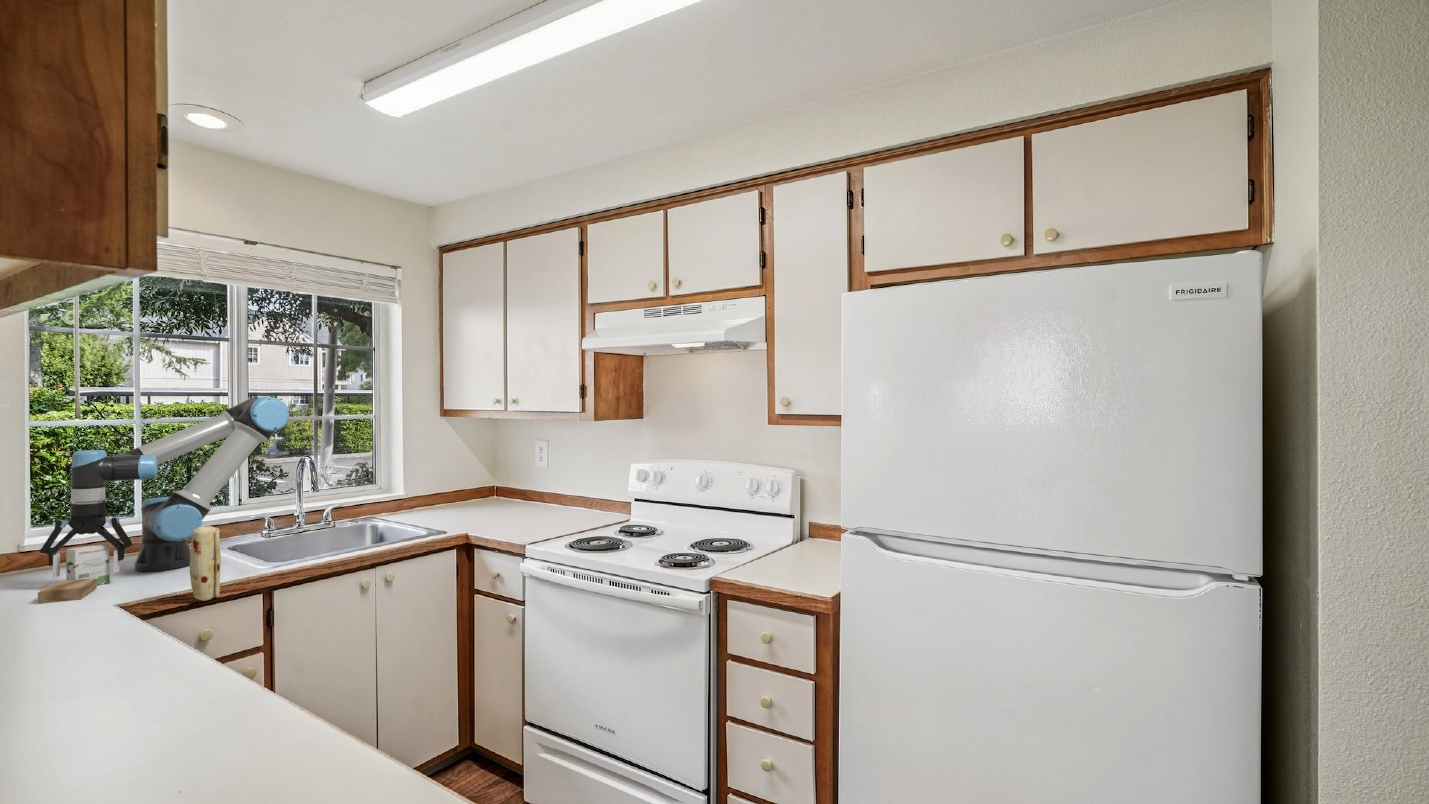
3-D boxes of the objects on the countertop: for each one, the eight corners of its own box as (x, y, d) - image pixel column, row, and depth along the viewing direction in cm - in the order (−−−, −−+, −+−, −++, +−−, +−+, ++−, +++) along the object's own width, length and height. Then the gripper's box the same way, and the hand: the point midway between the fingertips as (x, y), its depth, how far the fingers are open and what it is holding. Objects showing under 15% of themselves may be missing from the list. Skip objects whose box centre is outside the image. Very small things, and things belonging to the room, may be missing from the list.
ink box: (100, 581, 206) (100, 542, 206) (110, 583, 204) (110, 543, 205) (64, 588, 198) (65, 548, 198) (74, 590, 196) (74, 549, 197)
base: (96, 589, 198) (96, 577, 198) (81, 599, 187) (81, 587, 187) (55, 593, 194) (55, 581, 194) (37, 603, 183) (37, 591, 183)
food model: (195, 596, 189) (195, 524, 189) (224, 593, 192) (224, 522, 192) (185, 605, 180) (185, 530, 180) (216, 602, 183) (216, 528, 183)
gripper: (145, 498, 211) (144, 567, 210) (36, 503, 199) (35, 575, 199) (138, 501, 204) (137, 572, 204) (25, 506, 192) (24, 581, 192)
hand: (86, 574), depth 201 cm, fingers open, 13 cm apart
